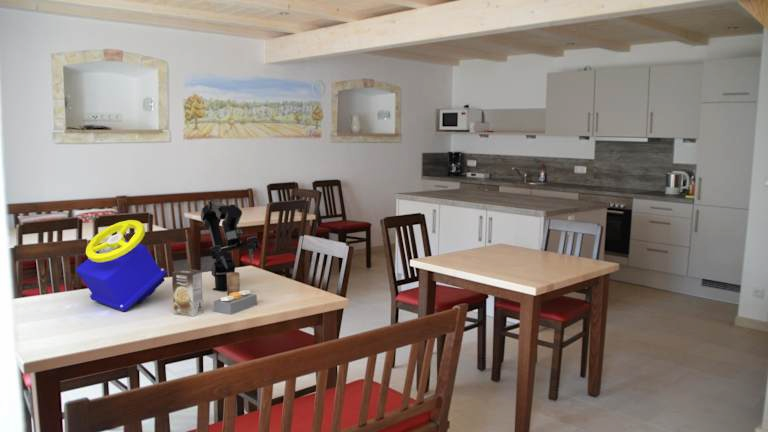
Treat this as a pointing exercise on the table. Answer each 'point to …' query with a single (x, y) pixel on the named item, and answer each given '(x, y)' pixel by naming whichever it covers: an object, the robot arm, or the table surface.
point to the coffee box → (187, 292)
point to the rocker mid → (235, 295)
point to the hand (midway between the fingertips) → (239, 266)
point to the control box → (120, 267)
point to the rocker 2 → (244, 292)
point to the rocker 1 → (227, 298)
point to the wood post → (233, 282)
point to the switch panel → (235, 304)
